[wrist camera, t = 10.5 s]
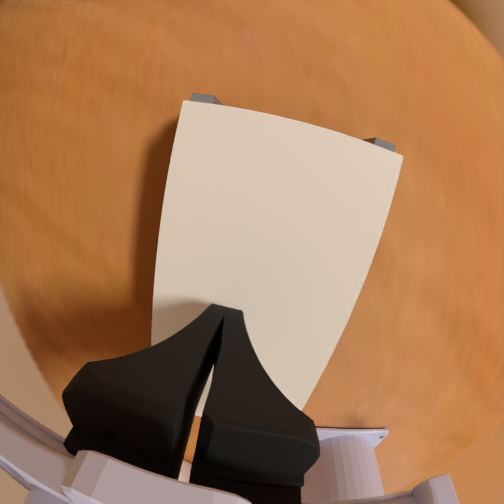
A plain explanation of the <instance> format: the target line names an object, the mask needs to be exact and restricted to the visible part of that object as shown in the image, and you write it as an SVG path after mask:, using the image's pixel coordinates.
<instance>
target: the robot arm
mask: <svg viewBox="0 0 504 504" xmlns="http://www.w3.org/2000/svg"><path fill="white" fill-rule="evenodd" d="M213 365H214V367H213ZM212 368H213V374H212V382H211V386H210V389H209V392H208V396H207V399H206V402H205V406H204V409H203V412H202V418H201V423H200V428H199V433H198V439H197V444H196V449H195V454H194V458H193V462H192V466H191V470H190V478H189V483H187V482H183V481H179V480H178V478H179V474H180V470H181V466H182V462H183V458H184V454H185V450H186V446H187V443H188V439H189V435H190V431H191V427H192V424H193V420H194V416H195V412H196V409H197V406H198V403H199V401H200V398H201V396H202V393H203V391H204V388H205V386H206V383H207V380H208V378H209V375H210V373H211V370H212ZM62 399H63V403H64V406H65V409H66V411H67V414H68V416H69V418H70V421H71V423H72V425H73V428H72V429H71V431H70V432H69V434H68V436H67V437H66V439H65V438H63V437H62V436H60V435H58V434H56V433H55V432H53V431H52V430H50V429H48V428H47V427H45V426H44V425H42V424H40V423H39V422H37V421H36V420H34V419H33V418H31V417H30V416H28V415H27V414H26V413H24V412H23V411H22V410H20V409H19V408H17V407H16V406H15V405H14V404H12V403H11V402H9V401H8V400H7V399H6V398H5V397H3V396H2V395H1V394H0V468H1V469H2V470H4V471H5V472H6V473H7V474H8V475H10V476H11V477H12V478H13V479H14V480H16V481H17V482H18V483H20V484H21V485H22V486H23V487H25V488H26V489H27V490H29V491H30V492H29V493H28V496H27V497H26V499H25V501H24V503H23V504H459V501H458V498H457V495H456V492H455V489H454V486H453V484H452V481H451V478H450V475H449V474H444V475H440V476H437V477H433V478H430V479H427V480H425V481H423V482H421V483H420V484H418V485H417V486H416V487H414V488H413V489H412V490H409V491H405V492H400V493H395V494H390V495H384V490H383V485H382V481H381V477H380V472H379V468H378V464H377V460H376V456H375V452H374V448H375V447H376V446H377V445H378V444H379V443H380V442H381V441H382V440H383V439H384V438H385V437H386V436H387V435H388V433H389V430H388V429H335V428H315V424H314V421H313V420H312V419H310V418H309V417H308V416H307V415H305V414H304V413H303V412H302V411H301V410H299V409H298V408H297V407H296V406H295V405H294V404H292V403H291V402H290V401H289V400H288V399H287V398H286V397H285V395H284V394H283V393H282V392H281V391H280V390H279V389H278V387H277V386H276V385H275V384H274V382H273V381H272V380H271V378H270V377H269V375H268V374H267V372H266V371H265V369H264V368H263V366H262V364H261V362H260V361H259V359H258V357H257V355H256V353H255V350H254V348H253V346H252V343H251V341H250V338H249V335H248V332H247V329H246V325H245V321H244V313H243V312H242V310H238V309H234V308H230V307H226V306H222V305H218V304H214V303H212V304H211V305H209V306H208V307H207V308H206V309H205V310H204V311H203V312H202V313H201V314H200V315H199V316H198V317H197V318H196V319H194V320H193V321H192V322H191V323H189V324H188V325H187V326H185V327H184V328H183V329H181V330H180V331H178V332H177V333H175V334H174V335H172V336H170V337H169V338H167V339H165V340H163V341H161V342H160V343H158V344H156V345H153V346H151V347H149V348H146V349H144V350H141V351H139V352H136V353H132V354H129V355H125V356H121V357H117V358H113V359H107V360H100V361H94V362H87V363H86V364H85V365H84V366H83V367H82V368H81V369H80V370H79V371H78V373H77V374H76V375H75V376H74V378H73V379H72V380H71V381H70V383H69V384H68V385H67V387H66V388H65V389H64V391H63V394H62Z"/></svg>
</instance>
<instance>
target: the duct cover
mask: <svg viewBox="0 0 504 504" xmlns="http://www.w3.org/2000/svg"><path fill="white" fill-rule="evenodd" d="M402 161H403V156H402V155H400V154H397V153H395V152H392V151H390V150H387V149H385V148H382V147H379V146H377V145H374V144H371V143H368V142H366V141H363V140H360V139H357V138H354V137H351V136H348V135H345V134H342V133H339V132H336V131H332V130H329V129H326V128H322V127H319V126H315V125H312V124H308V123H304V122H300V121H297V120H293V119H289V118H284V117H280V116H276V115H271V114H267V113H262V112H257V111H252V110H247V109H241V108H236V107H230V106H224V105H217V104H210V103H203V102H194V101H186V100H183V104H182V108H181V112H180V117H179V121H178V125H177V130H176V135H175V139H174V144H173V149H172V154H171V159H170V165H169V170H168V176H167V182H166V188H165V194H164V201H163V207H162V215H161V222H160V230H159V238H158V247H157V257H156V267H155V279H154V292H153V309H152V332H151V346H153V345H156V344H158V343H160V342H161V341H163V340H165V339H167V338H169V337H170V336H172V335H174V334H175V333H177V332H178V331H180V330H181V329H183V328H184V327H185V326H187V325H188V324H189V323H191V322H192V321H193V320H194V319H196V318H197V317H198V316H199V315H200V314H201V313H202V312H203V311H204V310H205V309H206V308H207V307H208V306H209V305H211V304H212V303H214V304H218V305H222V306H226V307H230V308H234V309H238V310H242V312H243V313H244V321H245V325H246V329H247V332H248V335H249V338H250V341H251V343H252V346H253V348H254V350H255V353H256V355H257V357H258V359H259V361H260V362H261V364H262V366H263V368H264V369H265V371H266V372H267V374H268V375H269V377H270V378H271V380H272V381H273V382H274V384H275V385H276V386H277V387H278V389H279V390H280V391H281V392H282V393H283V394H284V395H285V397H286V398H287V399H288V400H289V401H290V402H291V403H292V404H294V405H295V406H296V407H297V408H298V409H299V410H301V411H302V409H303V407H304V406H305V404H306V402H307V400H308V399H309V397H310V395H311V393H312V391H313V390H314V388H315V386H316V384H317V382H318V380H319V379H320V377H321V375H322V373H323V371H324V369H325V367H326V365H327V363H328V361H329V359H330V357H331V355H332V353H333V351H334V349H335V347H336V345H337V343H338V341H339V339H340V337H341V335H342V332H343V330H344V328H345V326H346V324H347V321H348V319H349V317H350V315H351V312H352V310H353V308H354V305H355V303H356V301H357V298H358V296H359V293H360V291H361V288H362V286H363V283H364V281H365V278H366V276H367V273H368V271H369V268H370V265H371V263H372V260H373V257H374V254H375V252H376V249H377V246H378V243H379V240H380V237H381V234H382V231H383V228H384V225H385V222H386V219H387V215H388V212H389V209H390V205H391V202H392V199H393V195H394V192H395V188H396V184H397V180H398V177H399V173H400V169H401V165H402ZM213 367H214V365H213ZM212 374H213V368H212V370H211V373H210V375H209V378H208V380H207V383H206V386H205V388H204V391H203V393H202V396H201V398H200V401H199V403H198V406H197V409H196V412H195V415H197V416H200V417H202V412H203V409H204V406H205V402H206V399H207V396H208V392H209V389H210V386H211V382H212Z"/></svg>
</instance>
